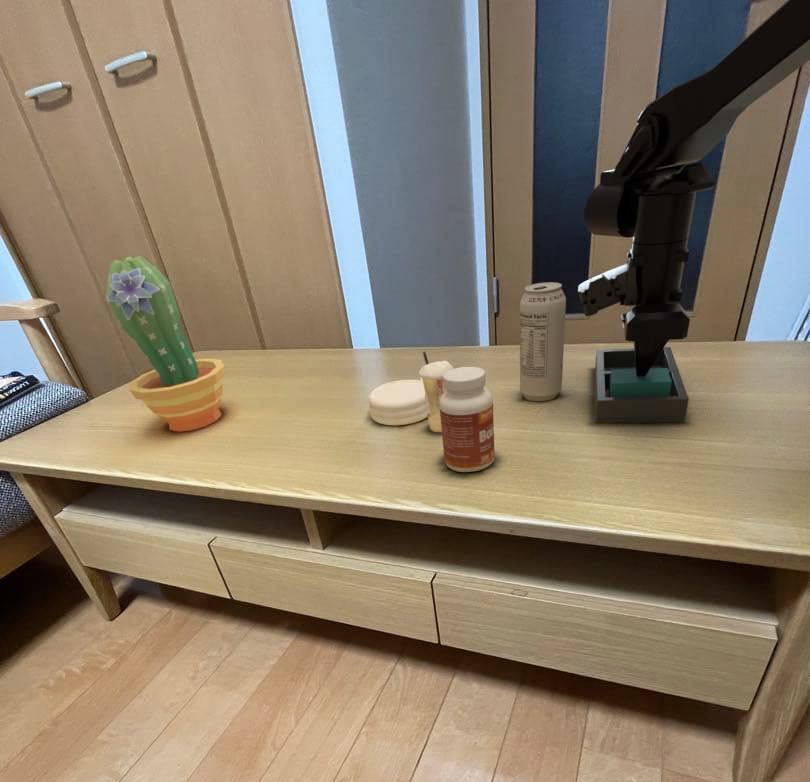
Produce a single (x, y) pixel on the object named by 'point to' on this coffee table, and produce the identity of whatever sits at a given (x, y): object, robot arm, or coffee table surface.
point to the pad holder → (637, 407)
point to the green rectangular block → (640, 383)
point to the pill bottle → (467, 420)
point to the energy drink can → (542, 340)
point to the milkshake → (433, 389)
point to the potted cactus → (163, 348)
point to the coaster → (398, 403)
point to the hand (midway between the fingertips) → (640, 375)
